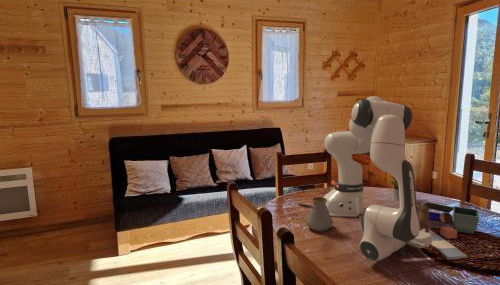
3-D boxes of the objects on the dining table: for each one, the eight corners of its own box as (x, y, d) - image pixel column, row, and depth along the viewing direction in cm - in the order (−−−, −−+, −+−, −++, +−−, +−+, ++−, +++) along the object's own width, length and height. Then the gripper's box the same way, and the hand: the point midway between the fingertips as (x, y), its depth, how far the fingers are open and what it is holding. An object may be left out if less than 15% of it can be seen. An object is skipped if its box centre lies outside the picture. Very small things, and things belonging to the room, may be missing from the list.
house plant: (421, 205, 168) (423, 173, 165) (393, 205, 168) (394, 174, 165) (408, 195, 182) (409, 166, 179) (382, 196, 182) (383, 167, 179)
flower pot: (477, 238, 131) (479, 216, 129) (451, 233, 136) (453, 212, 134) (476, 230, 138) (478, 209, 137) (451, 225, 143) (453, 205, 141)
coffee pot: (315, 220, 152) (315, 188, 150) (337, 227, 144) (338, 194, 142) (286, 235, 137) (286, 201, 135) (309, 244, 130) (309, 207, 127)
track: (447, 259, 116) (448, 257, 116) (410, 230, 140) (410, 228, 139) (467, 258, 116) (467, 255, 116) (426, 229, 140) (426, 227, 140)
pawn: (420, 233, 134) (422, 207, 133) (414, 228, 139) (416, 203, 137) (431, 232, 135) (433, 206, 133) (424, 228, 139) (426, 202, 137)
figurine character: (413, 220, 153) (449, 227, 141) (412, 204, 152) (448, 209, 141) (419, 216, 157) (455, 222, 146) (418, 200, 157) (454, 205, 145)
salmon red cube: (446, 241, 130) (447, 231, 129) (440, 236, 134) (440, 227, 133) (456, 240, 130) (457, 230, 129) (449, 235, 134) (450, 226, 133)
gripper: (422, 238, 112) (440, 227, 121) (368, 220, 128) (387, 211, 137) (421, 256, 114) (439, 243, 122) (367, 235, 129) (386, 226, 138)
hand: (411, 226), depth 130 cm, fingers open, 8 cm apart
